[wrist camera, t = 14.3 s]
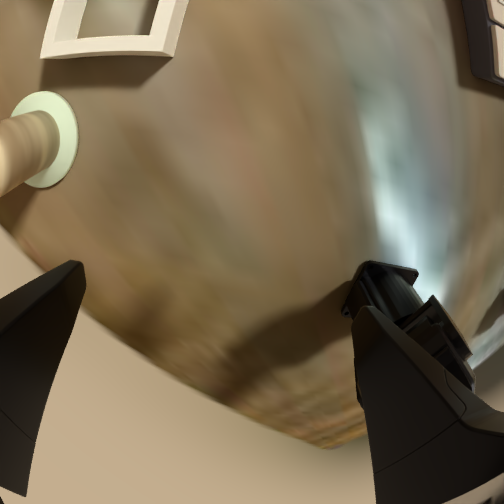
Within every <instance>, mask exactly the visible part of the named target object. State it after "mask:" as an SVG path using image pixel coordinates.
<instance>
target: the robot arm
mask: <svg viewBox="0 0 504 504" xmlns="http://www.w3.org/2000/svg"><path fill="white" fill-rule="evenodd" d="M371 265H372V266H371ZM369 266H371V267H369ZM413 274H414V275H413ZM418 275H419V273H418V271H417V270H416V269H412V268H407V267H402V266H397V265H392V264H387V263H382V262H376V261H368V262H366V263H365V265H364V267H363V269H362V271H361V273H360V275H359V277H358V279H357V281H356V282H355V284H354V286H353V288H352V290H351V292H350V294H349V296H348V298H347V300H346V302H345V304H344V306H343V308H342V310H341V314H342V316H343V317H351V318H352V319H353V323H352V326H351V331H352V339H353V348H354V357H355V358H354V367H355V380H356V392H357V400H358V402H359V403H360V406H361V407H362V408H363V410H364V413H365V419H366V425H367V432H368V438H369V445H370V452H371V459H372V467H373V473H374V475H373V476H374V485H375V495H376V504H504V412H500V411H497V410H495V409H493V408H491V407H490V406H489V405H487V404H486V403H485V402H484V401H483V400H482V399H480V398H479V397H478V396H477V395H475V374H474V372H473V371H472V369H471V367H470V365H469V364H468V362H467V359H468V358H469V357H471V356H472V355H473V354H472V352H471V350H470V348H469V346H468V344H467V343H466V341H465V339H464V337H463V335H462V334H461V332H460V331H459V329H458V328H457V326H456V325H455V323H454V322H453V320H452V319H451V317H450V316H449V314H448V313H447V312H446V310H445V309H444V308H443V307H442V305H441V304H440V303H439V301H438V300H437V299H436V298H435V296H434V295H432V296H431V297H430V298H429V300H428V301H427V302H426V303H425V304H424V303H423V301H422V300H421V298H420V297H419V295H418V294H417V292H416V291H415V289H414V288H413V287H412V286H413V284H414V282H415V281H416V279H417V277H418ZM85 290H86V278H85V272H84V266H83V263H82V262H80V261H75V260H69V261H67V262H65V263H63V264H62V265H60V266H58V267H56V268H54V269H52V270H50V271H48V272H47V273H45V274H43V275H41V276H39V277H38V278H36V279H34V280H32V281H30V282H28V283H27V284H25V285H23V286H21V287H20V288H18V289H17V290H14V291H13V292H11V293H10V294H8V295H6V296H5V297H3V298H1V299H0V486H1V487H3V488H5V489H7V490H9V491H12V492H14V493H16V494H19V495H21V496H24V497H26V494H27V488H28V481H29V474H30V469H31V463H32V458H33V453H34V448H35V444H36V443H35V442H36V439H37V435H38V431H39V427H40V423H41V419H42V416H43V412H44V409H45V405H46V402H47V399H48V395H49V392H50V389H51V386H52V383H53V380H54V377H55V374H56V372H57V369H58V366H59V363H60V361H61V358H62V355H63V353H64V350H65V347H66V345H67V343H68V340H69V338H70V335H71V333H72V330H73V327H74V324H75V320H76V317H77V314H78V311H79V308H80V305H81V302H82V299H83V296H84V293H85ZM0 504H4V503H3V501H2V499H1V497H0Z"/></svg>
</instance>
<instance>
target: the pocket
mask: <svg viewBox="0 0 504 504" xmlns="http://www.w3.org/2000/svg"><path fill="white" fill-rule="evenodd" d="M188 2H189V0H159V3H158V6H157V10H156V13H155V17H154V20H153V24H152V27H151V31H150V35H127V36H105V37H93V38H83V39H77V36H78V32H79V28H80V24H81V20H82V17H83V13H84V10H85V7H86V3H87V0H54V3H53V6H52V10H51V13H50V16H49V20H48V24H47V28H46V32H45V36H44V40H43V45H42V50H41V55H40V58H43V59H68V58H79V57H91V56H114V55H142V56H165V57H174V54H175V49H176V45H177V41H178V37H179V33H180V30H181V26H182V22H183V19H184V15H185V12H186V8H187V5H188Z"/></svg>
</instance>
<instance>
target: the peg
mask: <svg viewBox="0 0 504 504" xmlns="http://www.w3.org/2000/svg"><path fill="white" fill-rule="evenodd" d="M59 147H60V133H59V128H58V125H57V123H56V121H55V119H54V118H53V117H52V116H51V115H50V114H49V113H47V112H45V111H42V110H36V111H32V112H28V113H24V114H21V115H17V116H14V117H10V118H7V119H4V120H1V121H0V198H1V197H2V196H3V195H5V194H6V193H8V192H9V191H11V190H12V189H14V188H15V187H17V186H18V185H20V184H21V183H23V182H25V181H26V180H28V179H29V178H31V177H33V176H34V175H36V174H38V173H39V172H41V171H43V170H45V169H46V168H48V167H49V166H50V165H51V164H52V163H53V162H54V161H55V159H56V157H57V154H58V151H59Z"/></svg>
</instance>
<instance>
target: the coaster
mask: <svg viewBox="0 0 504 504" xmlns="http://www.w3.org/2000/svg"><path fill="white" fill-rule="evenodd" d="M36 110H42V111H45V112H47V113H49V114H50V115H51V116H52V117H53V118H54V119H55V121H56V123H57V125H58V128H59V133H60V147H59V151H58V154H57V157H56V159H55V161H54V162H53V163H52V164H51V165H50V166H49V167H48V168H46V169H45V170H43V171H41V172H39V173H38V174H36V175H34V176H33V177H31V178H29V179H28V180H26V181H25V183H26V184H28V185H30V186H33V187H37V188H44V187H49V186H51V185H53V184H55V183H57V182H58V181H59V180H61V179H62V178H63V177H64V176H65V175H66V174H67V173H68V172H69V170H70V169H71V167H72V165H73V163H74V161H75V158H76V155H77V151H78V145H79V129H78V123H77V119H76V116H75V113H74V111H73V109H72V107H71V106H70V104H69V103H68V102H67V100H66V99H64V98H63V97H62V96H61V95H59V94H57V93H55V92H51V91H41V92H36V93H33V94H30V95H29V96H27V97H25V98H24V99H23V100H22V101H21V102H20V103H19V104H18V105H17V107H16V108H15V109H14V111H13V113H12V115H11V117H14V116H17V115H21V114H24V113H28V112H32V111H36Z"/></svg>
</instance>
